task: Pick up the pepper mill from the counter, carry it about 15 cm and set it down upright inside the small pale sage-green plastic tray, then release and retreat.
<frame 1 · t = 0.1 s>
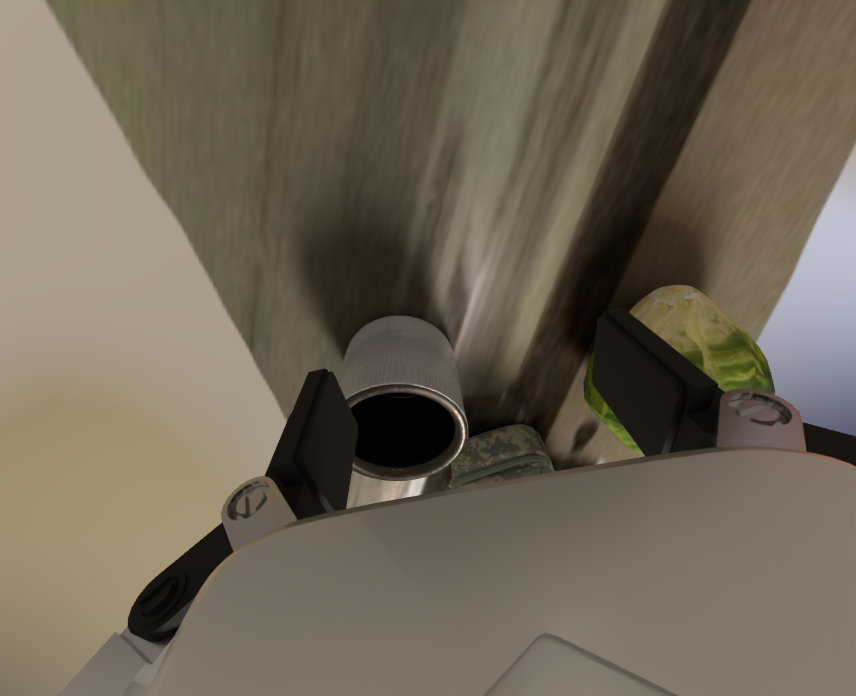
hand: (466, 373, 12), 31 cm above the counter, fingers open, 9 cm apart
planter: (400, 358, 49), on the counter
lunch bag: (501, 464, 65), on the counter
lettuce: (624, 340, 50), on the counter
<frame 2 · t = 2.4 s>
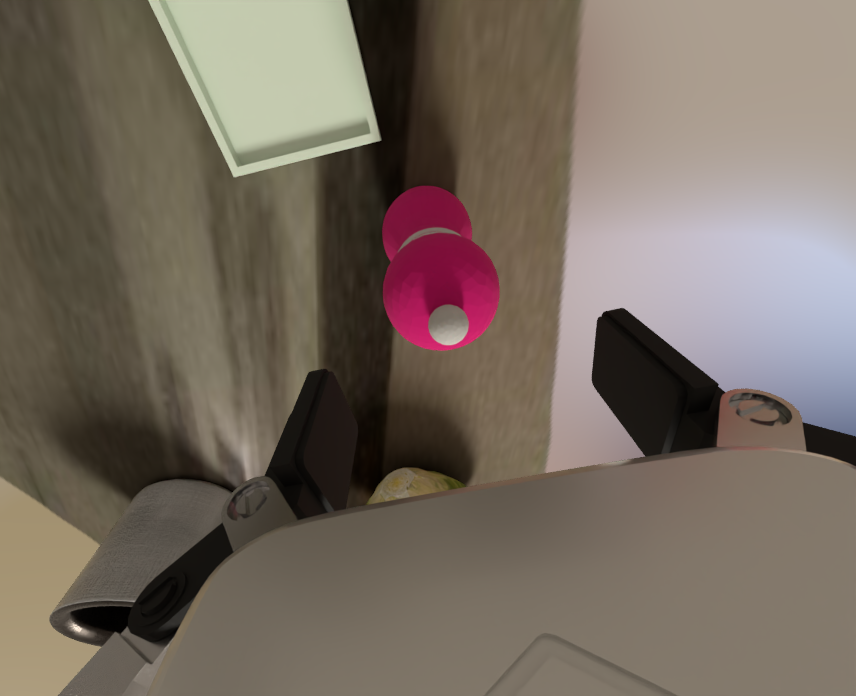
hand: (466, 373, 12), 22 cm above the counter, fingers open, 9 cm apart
planter: (198, 503, 52), on the counter
tray: (277, 63, 23), on the counter
lettuce: (414, 483, 52), on the counter
pepper mill: (423, 222, 30), on the counter
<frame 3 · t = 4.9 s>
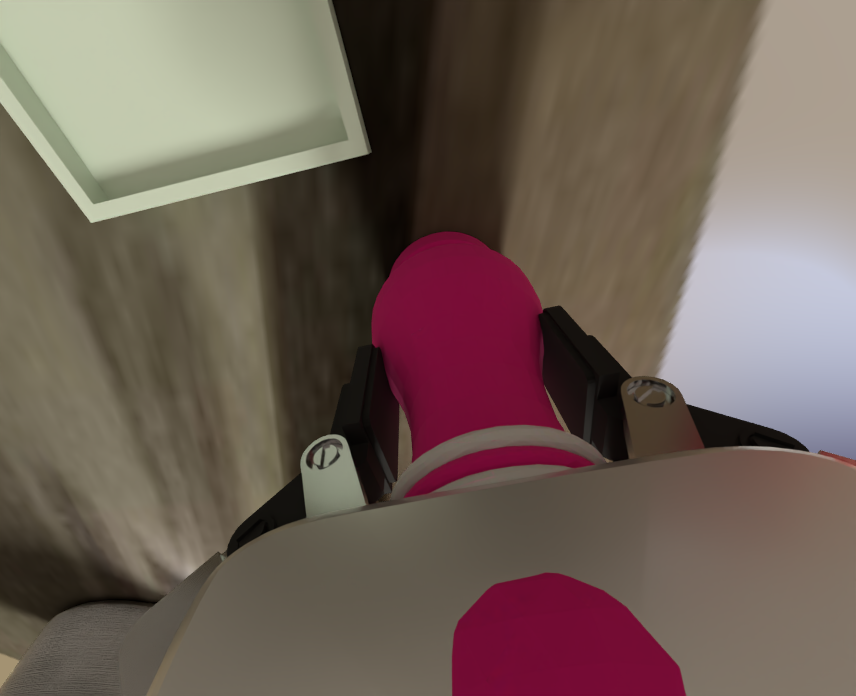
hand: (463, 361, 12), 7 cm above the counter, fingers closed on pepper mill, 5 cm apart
planter: (138, 620, 40), on the counter
pepper mill: (445, 288, 18), on the counter, touching gripper
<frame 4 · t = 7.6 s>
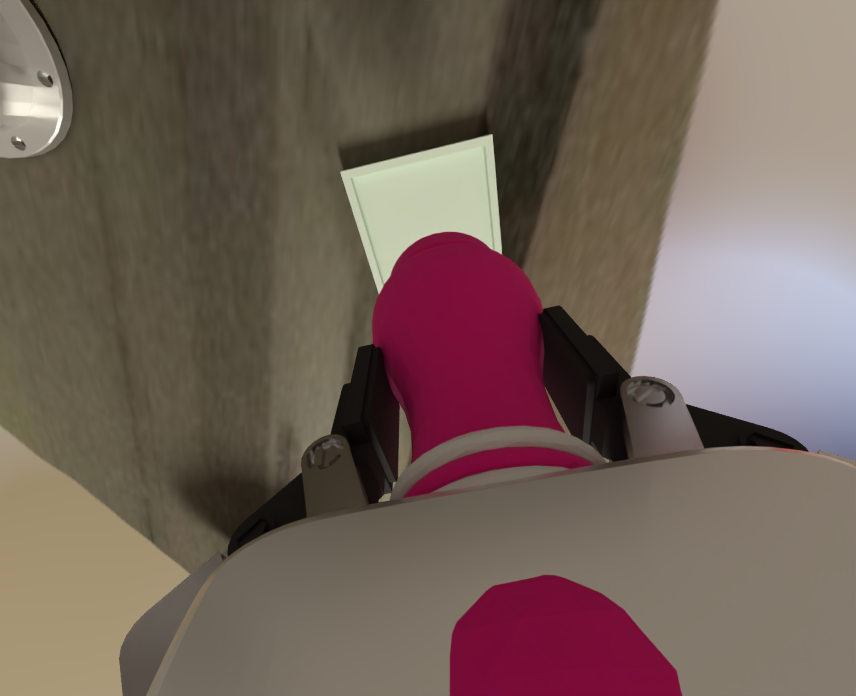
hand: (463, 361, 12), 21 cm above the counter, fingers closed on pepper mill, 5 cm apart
tray: (429, 227, 30), on the counter
pepper mill: (446, 288, 18), point 14 cm above the counter, touching gripper
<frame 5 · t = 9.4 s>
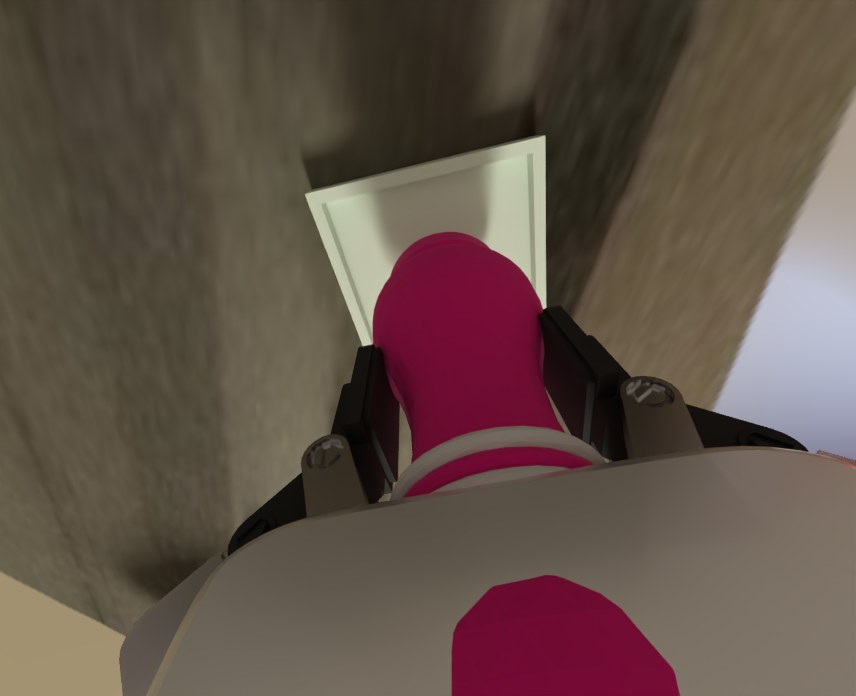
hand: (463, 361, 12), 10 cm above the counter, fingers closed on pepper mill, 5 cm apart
tray: (441, 270, 20), on the counter
pepper mill: (446, 288, 18), point 3 cm above the counter, touching gripper
when the fingers open (9 cm above the counter, at t = 10.3 s): pepper mill drops 2 cm, resting on tray.
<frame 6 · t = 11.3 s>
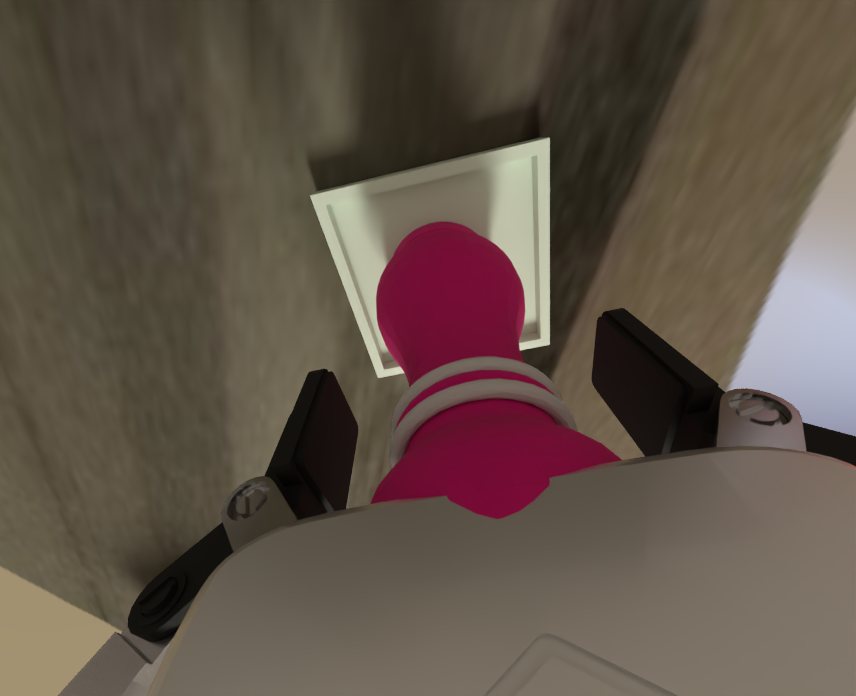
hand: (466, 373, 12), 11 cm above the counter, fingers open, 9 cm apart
tray: (445, 272, 20), on the counter
pepper mill: (441, 273, 20), resting on tray
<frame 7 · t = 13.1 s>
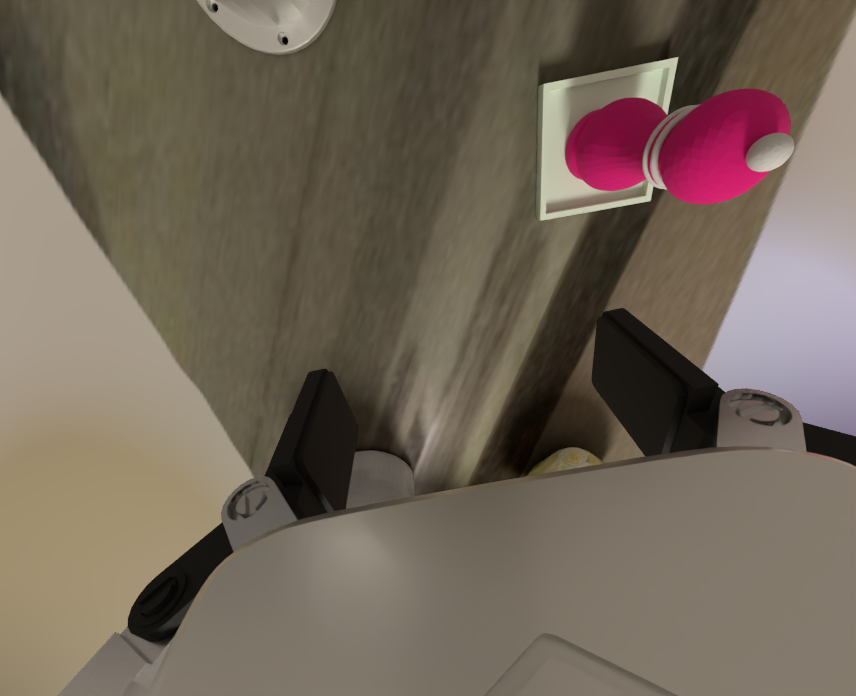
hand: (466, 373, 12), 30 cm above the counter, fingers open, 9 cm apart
planter: (371, 473, 61), on the counter
tray: (594, 147, 34), on the counter
lettuce: (552, 464, 62), on the counter
pepper mill: (594, 146, 33), resting on tray
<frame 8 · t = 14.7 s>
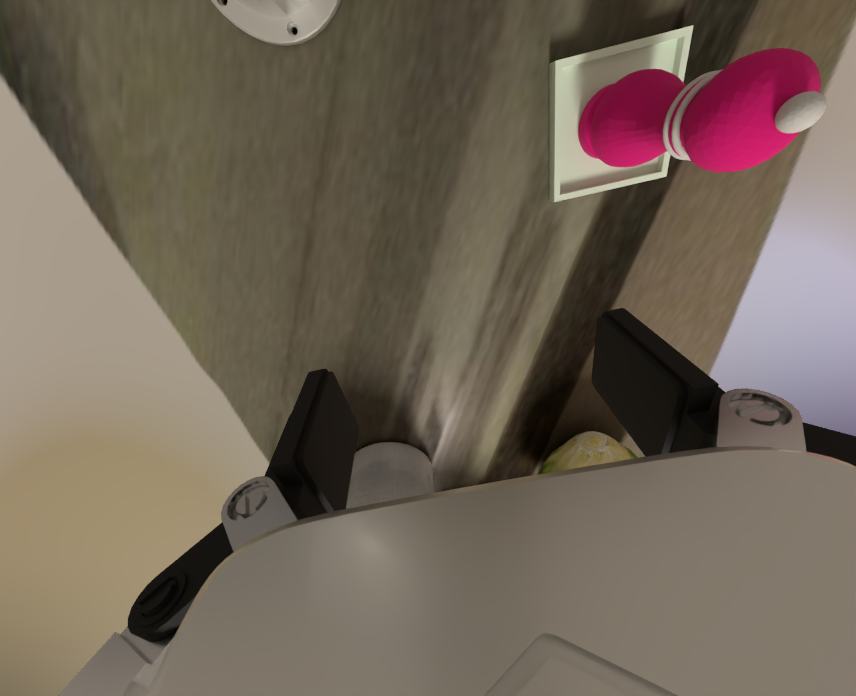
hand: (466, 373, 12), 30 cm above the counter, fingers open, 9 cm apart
planter: (389, 465, 62), on the counter
tray: (608, 124, 33), on the counter
lettuce: (569, 450, 62), on the counter
pepper mill: (607, 122, 33), resting on tray
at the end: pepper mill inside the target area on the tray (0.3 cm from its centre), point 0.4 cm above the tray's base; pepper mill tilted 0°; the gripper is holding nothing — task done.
